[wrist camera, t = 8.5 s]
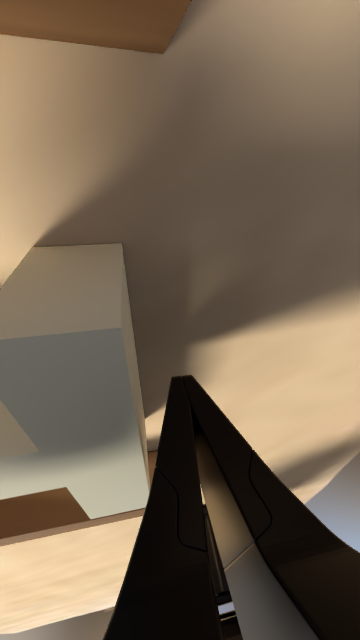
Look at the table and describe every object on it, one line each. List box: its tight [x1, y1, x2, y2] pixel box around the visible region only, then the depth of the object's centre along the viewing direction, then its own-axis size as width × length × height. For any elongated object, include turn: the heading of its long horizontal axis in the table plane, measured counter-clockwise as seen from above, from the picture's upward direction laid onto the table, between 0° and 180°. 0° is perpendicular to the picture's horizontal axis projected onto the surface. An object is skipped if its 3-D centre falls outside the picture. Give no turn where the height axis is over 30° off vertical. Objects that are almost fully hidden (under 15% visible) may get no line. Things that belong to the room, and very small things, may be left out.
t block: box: [0, 243, 150, 519], centre depth 8 cm, size 10×8×4 cm
